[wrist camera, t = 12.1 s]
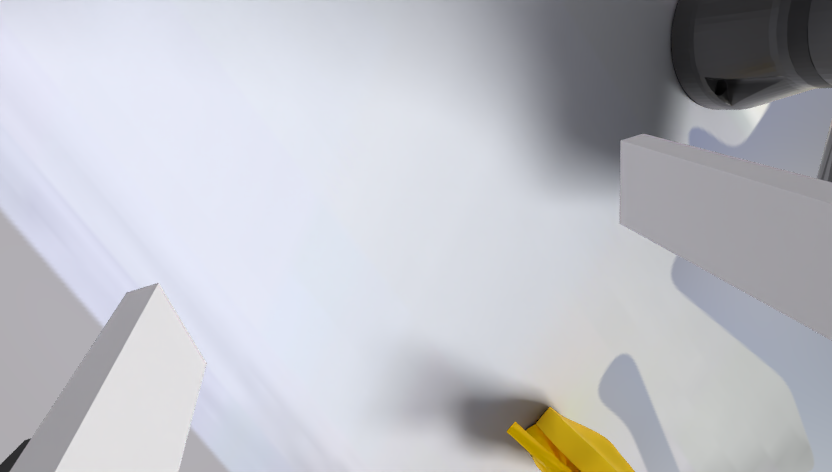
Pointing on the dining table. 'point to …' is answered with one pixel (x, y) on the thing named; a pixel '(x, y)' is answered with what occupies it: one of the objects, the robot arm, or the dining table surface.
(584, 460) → the yellow piece
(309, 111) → the dining table surface
